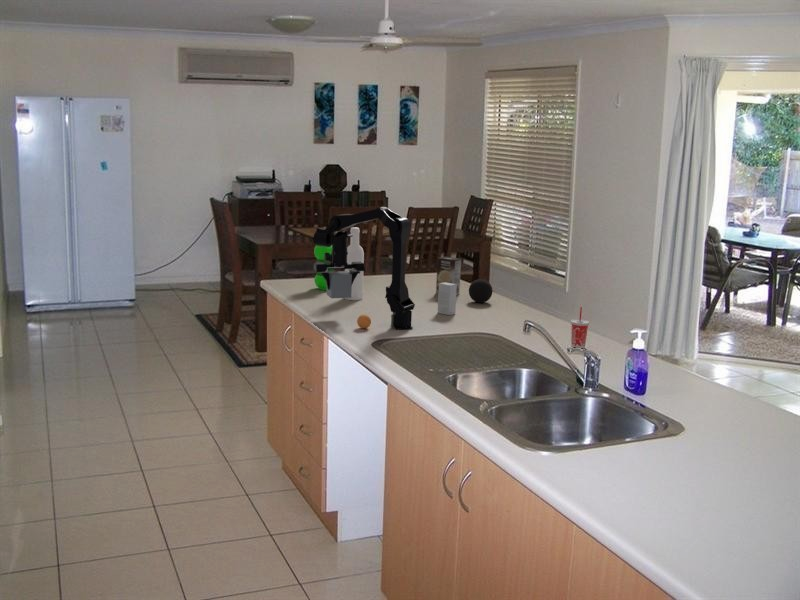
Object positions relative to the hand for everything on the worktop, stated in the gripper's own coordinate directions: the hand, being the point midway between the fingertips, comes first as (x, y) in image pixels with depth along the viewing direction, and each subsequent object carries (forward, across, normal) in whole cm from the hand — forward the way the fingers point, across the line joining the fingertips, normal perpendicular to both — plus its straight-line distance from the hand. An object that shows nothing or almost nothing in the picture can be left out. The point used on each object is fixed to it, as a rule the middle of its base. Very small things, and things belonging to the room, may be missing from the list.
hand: (338, 289), depth 321 cm
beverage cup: (+11, -70, +58) cm, 91 cm away
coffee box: (+11, -59, -38) cm, 71 cm away
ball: (+8, -5, +19) cm, 21 cm away
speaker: (+11, -66, -18) cm, 69 cm away
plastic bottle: (+11, -8, -57) cm, 59 cm away
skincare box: (+11, -44, 0) cm, 45 cm away
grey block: (+3, 0, 0) cm, 3 cm away
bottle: (+11, -15, -34) cm, 39 cm away
